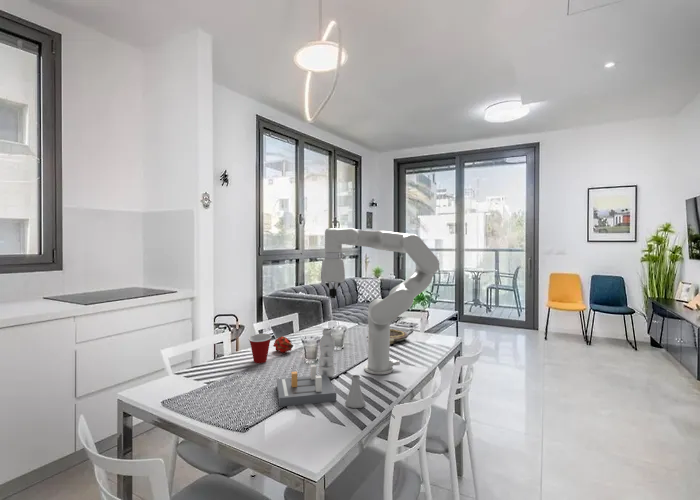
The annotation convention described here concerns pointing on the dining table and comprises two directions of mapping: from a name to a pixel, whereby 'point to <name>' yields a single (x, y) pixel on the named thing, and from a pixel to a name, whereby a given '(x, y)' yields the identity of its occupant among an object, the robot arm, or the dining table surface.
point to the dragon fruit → (283, 344)
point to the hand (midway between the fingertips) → (332, 297)
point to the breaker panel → (306, 390)
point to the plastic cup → (260, 347)
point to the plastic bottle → (326, 353)
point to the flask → (355, 394)
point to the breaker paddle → (294, 379)
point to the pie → (397, 336)
